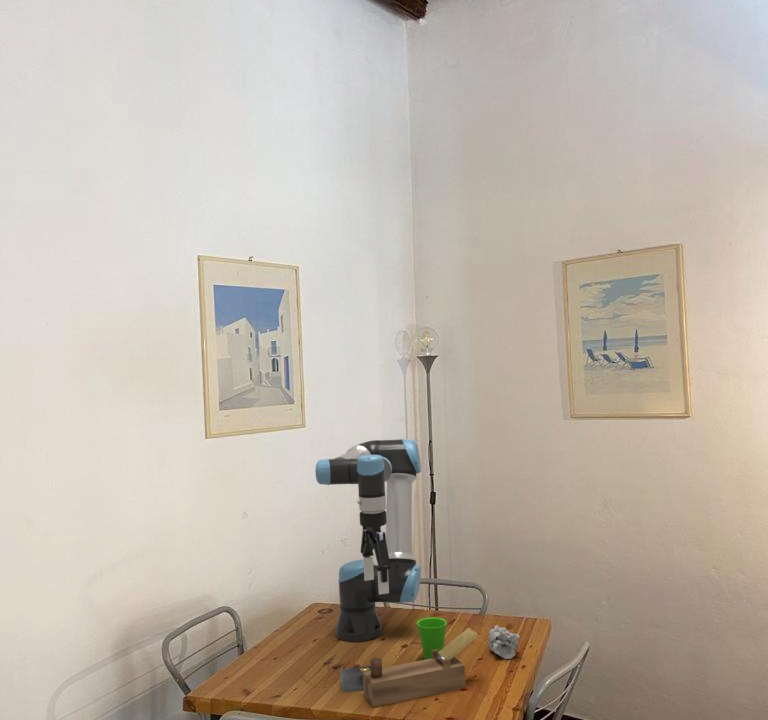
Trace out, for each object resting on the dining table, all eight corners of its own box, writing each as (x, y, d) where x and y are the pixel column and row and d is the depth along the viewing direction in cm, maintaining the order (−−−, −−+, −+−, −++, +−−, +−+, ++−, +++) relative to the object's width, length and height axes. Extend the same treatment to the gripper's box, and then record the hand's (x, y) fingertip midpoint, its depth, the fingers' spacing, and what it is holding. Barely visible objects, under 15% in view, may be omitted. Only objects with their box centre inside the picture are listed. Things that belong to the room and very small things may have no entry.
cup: (447, 666, 205) (445, 628, 205) (415, 665, 206) (414, 627, 207) (450, 654, 213) (448, 617, 214) (420, 653, 215) (418, 616, 216)
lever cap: (340, 684, 197) (339, 667, 197) (375, 679, 199) (375, 662, 199) (343, 693, 191) (342, 675, 191) (380, 688, 193) (379, 671, 193)
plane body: (363, 694, 189) (362, 656, 189) (452, 676, 198) (450, 640, 198) (373, 707, 181) (371, 667, 182) (465, 687, 190) (463, 649, 191)
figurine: (505, 628, 206) (501, 607, 218) (484, 653, 208) (480, 631, 220) (528, 645, 207) (522, 623, 218) (506, 670, 208) (502, 647, 220)
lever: (433, 653, 195) (467, 626, 199) (435, 658, 195) (469, 630, 199) (442, 661, 189) (477, 633, 193) (444, 665, 190) (479, 637, 193)
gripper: (348, 504, 211) (351, 576, 211) (373, 520, 187) (377, 601, 187) (372, 501, 213) (375, 572, 213) (400, 517, 190) (404, 597, 189)
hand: (376, 586), depth 200 cm, fingers open, 13 cm apart
